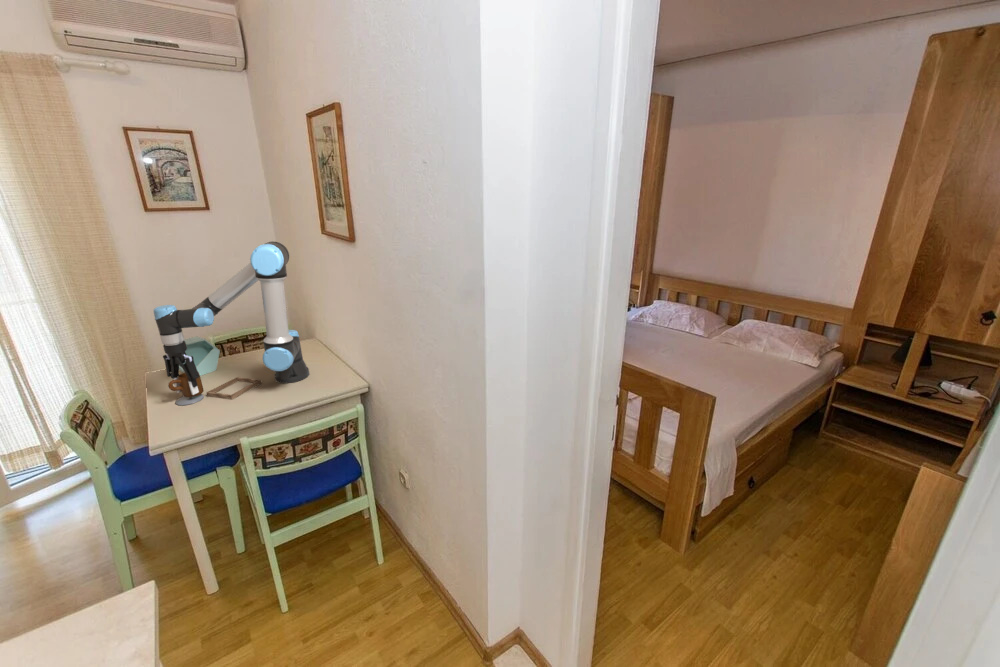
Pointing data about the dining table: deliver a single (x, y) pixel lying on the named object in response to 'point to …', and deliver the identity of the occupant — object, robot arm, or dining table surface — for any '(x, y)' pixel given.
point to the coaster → (189, 400)
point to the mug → (185, 385)
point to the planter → (202, 354)
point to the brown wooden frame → (218, 395)
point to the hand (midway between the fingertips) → (188, 392)
